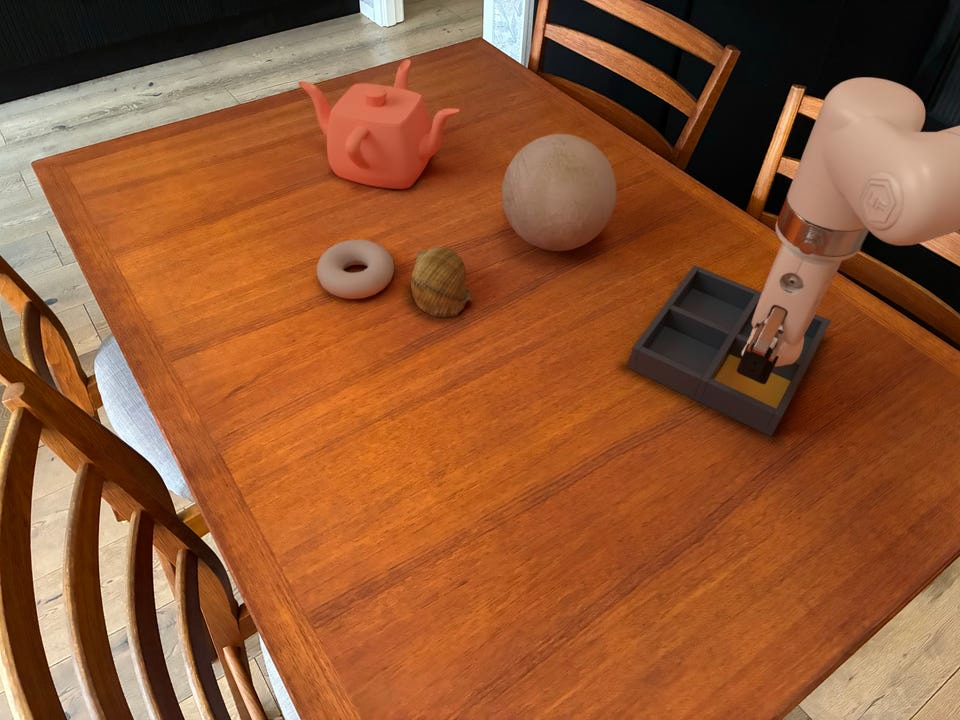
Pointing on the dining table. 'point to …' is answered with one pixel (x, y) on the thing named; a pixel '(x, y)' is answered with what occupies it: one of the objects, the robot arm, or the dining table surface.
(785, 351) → the garlic bulb
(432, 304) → the seashell
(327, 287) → the donut
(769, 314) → the robot arm
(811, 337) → the grid
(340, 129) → the pot
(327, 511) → the dining table surface
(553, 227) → the decorative sphere
